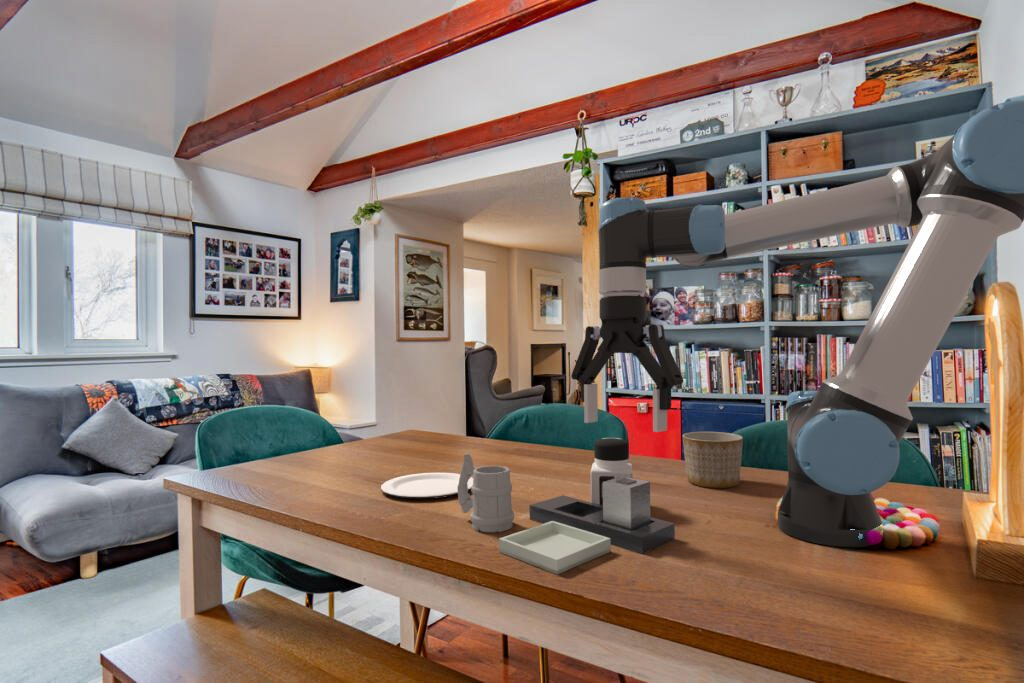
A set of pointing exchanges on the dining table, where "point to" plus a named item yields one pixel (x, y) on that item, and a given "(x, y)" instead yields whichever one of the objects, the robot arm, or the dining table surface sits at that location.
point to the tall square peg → (626, 503)
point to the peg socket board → (592, 521)
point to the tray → (554, 546)
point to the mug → (486, 496)
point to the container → (608, 465)
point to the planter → (713, 458)
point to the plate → (424, 485)
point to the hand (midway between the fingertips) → (623, 426)
